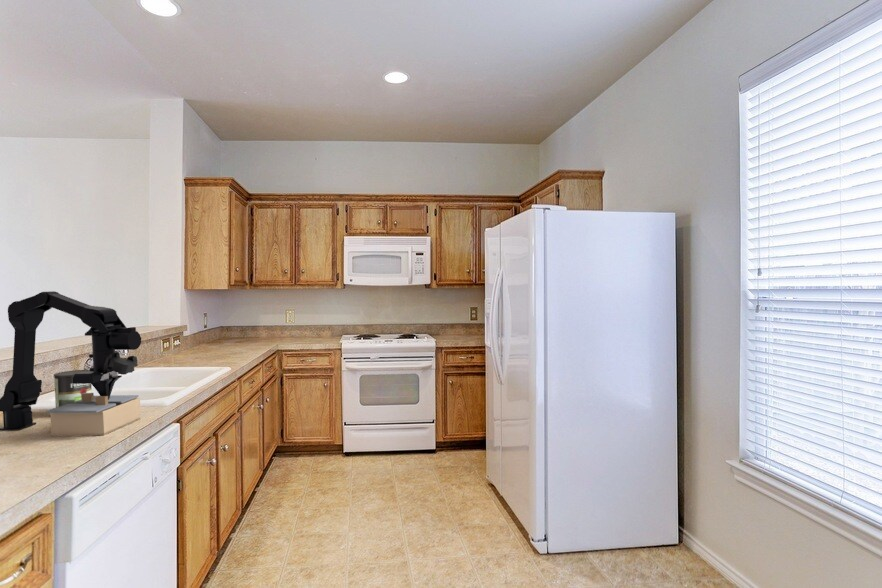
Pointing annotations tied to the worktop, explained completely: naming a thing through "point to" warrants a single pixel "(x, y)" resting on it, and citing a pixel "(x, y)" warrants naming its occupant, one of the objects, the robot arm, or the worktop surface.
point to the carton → (96, 420)
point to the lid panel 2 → (90, 399)
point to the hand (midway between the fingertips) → (106, 400)
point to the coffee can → (69, 388)
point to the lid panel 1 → (84, 407)
